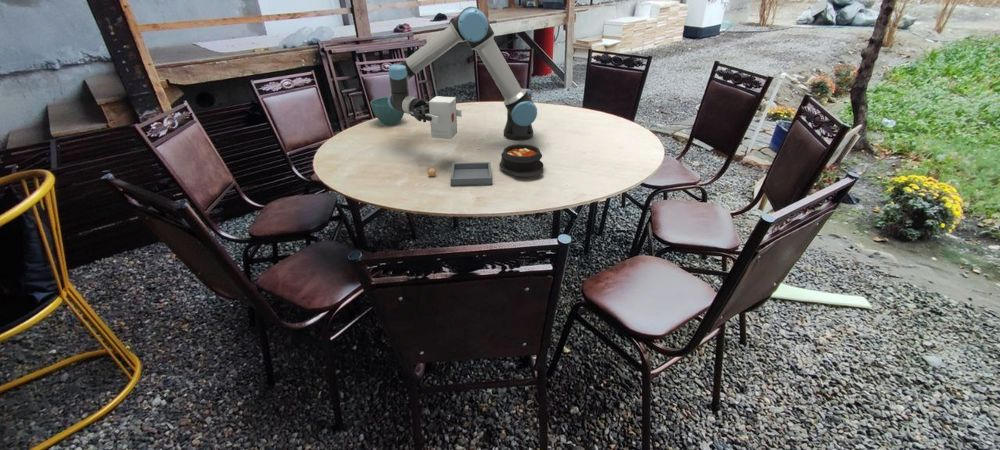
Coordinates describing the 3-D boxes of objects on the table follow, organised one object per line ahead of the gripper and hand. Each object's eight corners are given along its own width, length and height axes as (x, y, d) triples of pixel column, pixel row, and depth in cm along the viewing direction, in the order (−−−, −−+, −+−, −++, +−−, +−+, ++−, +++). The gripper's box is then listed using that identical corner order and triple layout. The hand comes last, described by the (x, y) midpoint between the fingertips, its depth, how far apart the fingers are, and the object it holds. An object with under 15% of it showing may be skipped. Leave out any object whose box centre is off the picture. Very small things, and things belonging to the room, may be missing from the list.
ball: (436, 174, 172) (435, 167, 171) (435, 177, 170) (435, 170, 168) (428, 174, 172) (427, 167, 170) (427, 177, 169) (427, 170, 168)
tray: (490, 168, 177) (490, 162, 176) (492, 185, 164) (492, 177, 162) (452, 169, 176) (452, 163, 175) (450, 186, 163) (450, 179, 161)
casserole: (553, 178, 169) (554, 158, 165) (509, 183, 165) (509, 164, 160) (531, 156, 190) (532, 138, 185) (492, 160, 185) (491, 142, 181)
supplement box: (451, 139, 171) (449, 102, 163) (430, 138, 172) (427, 101, 165) (458, 132, 178) (456, 96, 171) (437, 131, 180) (435, 95, 172)
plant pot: (367, 126, 226) (363, 103, 220) (386, 117, 241) (383, 95, 235) (396, 130, 221) (393, 106, 215) (413, 120, 236) (411, 98, 229)
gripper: (436, 109, 191) (470, 119, 179) (393, 121, 175) (427, 133, 163) (435, 93, 187) (470, 101, 175) (391, 103, 171) (425, 113, 159)
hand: (449, 116), depth 169 cm, fingers closed on supplement box, 12 cm apart
